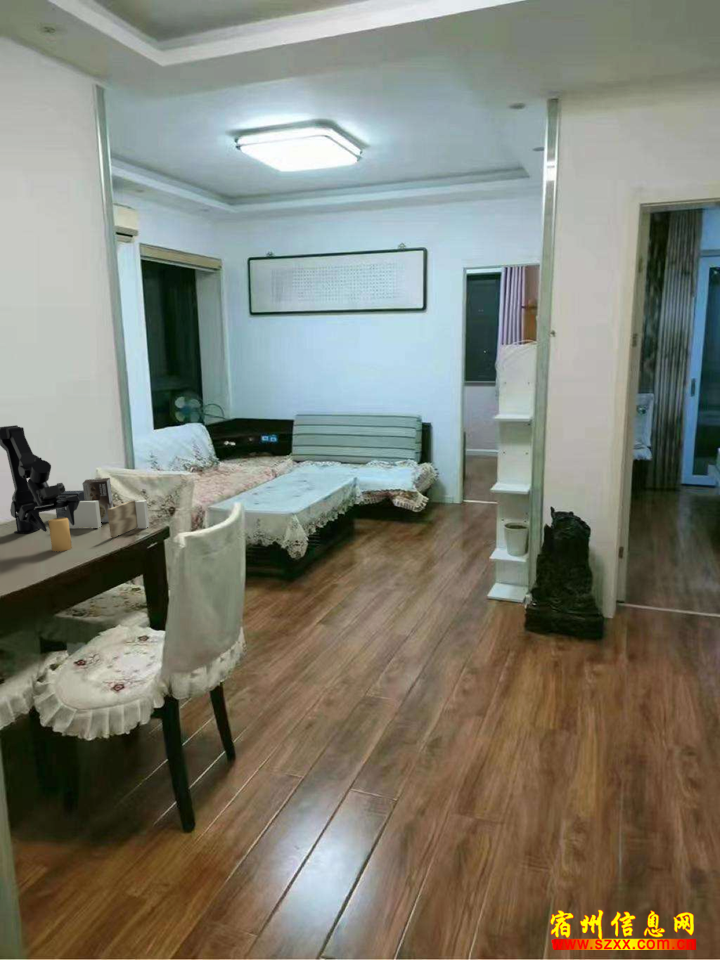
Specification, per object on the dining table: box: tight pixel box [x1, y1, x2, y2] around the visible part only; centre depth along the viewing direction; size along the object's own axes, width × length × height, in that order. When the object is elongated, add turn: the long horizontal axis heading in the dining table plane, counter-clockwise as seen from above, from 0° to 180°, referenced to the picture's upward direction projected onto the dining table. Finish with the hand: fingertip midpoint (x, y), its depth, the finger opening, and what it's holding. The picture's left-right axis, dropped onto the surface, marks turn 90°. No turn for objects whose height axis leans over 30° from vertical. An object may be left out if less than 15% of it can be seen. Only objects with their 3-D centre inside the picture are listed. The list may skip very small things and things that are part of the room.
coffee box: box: [82, 477, 114, 523], centre depth 255 cm, size 9×6×16 cm
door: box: [107, 499, 138, 538], centre depth 238 cm, size 14×2×10 cm, turn 163°
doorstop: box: [47, 517, 73, 553], centre depth 221 cm, size 6×6×10 cm
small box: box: [55, 490, 85, 518], centre depth 263 cm, size 11×6×10 cm, turn 84°
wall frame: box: [68, 499, 150, 529], centre depth 246 cm, size 30×2×10 cm, turn 83°
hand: (60, 527), depth 220 cm, fingers open, 9 cm apart
